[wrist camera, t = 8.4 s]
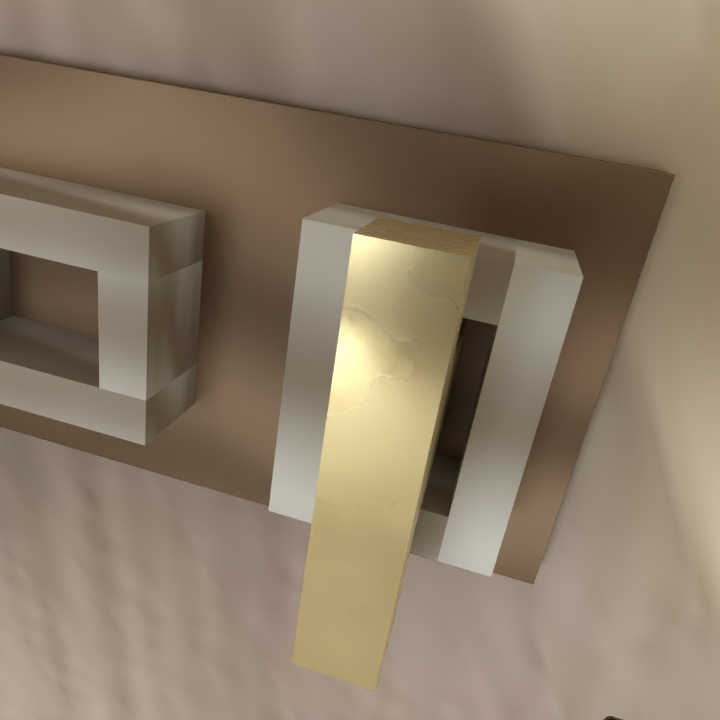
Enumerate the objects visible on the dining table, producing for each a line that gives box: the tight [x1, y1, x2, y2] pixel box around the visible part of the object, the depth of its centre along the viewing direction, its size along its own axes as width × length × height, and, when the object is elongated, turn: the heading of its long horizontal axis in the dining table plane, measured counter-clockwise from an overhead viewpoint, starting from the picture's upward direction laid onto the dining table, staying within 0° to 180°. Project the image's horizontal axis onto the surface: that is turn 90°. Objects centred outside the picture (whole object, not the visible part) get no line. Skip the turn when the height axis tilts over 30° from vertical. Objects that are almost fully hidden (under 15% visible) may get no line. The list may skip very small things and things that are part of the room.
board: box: [0, 54, 675, 584], centre depth 19 cm, size 13×22×4 cm, turn 81°
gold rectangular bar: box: [292, 216, 481, 691], centre depth 15 cm, size 2×10×7 cm, turn 172°
